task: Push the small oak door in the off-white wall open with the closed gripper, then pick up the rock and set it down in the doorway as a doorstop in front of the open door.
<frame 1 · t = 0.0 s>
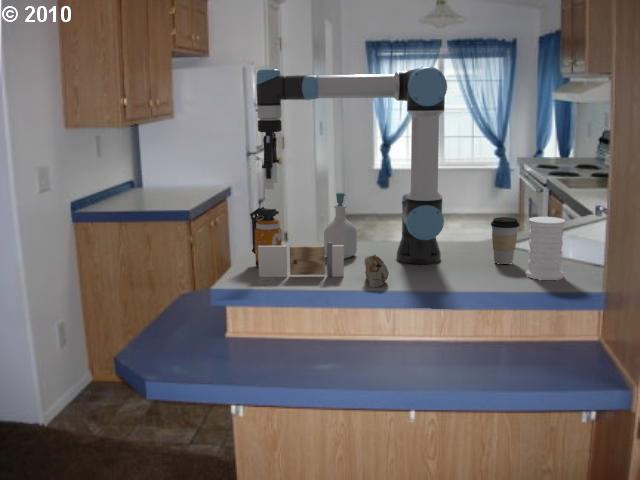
hand: (271, 185, 237), 28 cm above the countertop, fingers open, 13 cm apart
decorative container: (543, 276, 231), on the countertop
soap bottle: (340, 256, 261), on the countertop
coffee cup: (503, 263, 248), on the countertop
rock: (376, 282, 227), on the countertop
wall: (296, 276, 235), on the countertop
door: (307, 261, 233), point 5 cm above the countertop, hinge at 0.0°
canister: (266, 266, 249), on the countertop
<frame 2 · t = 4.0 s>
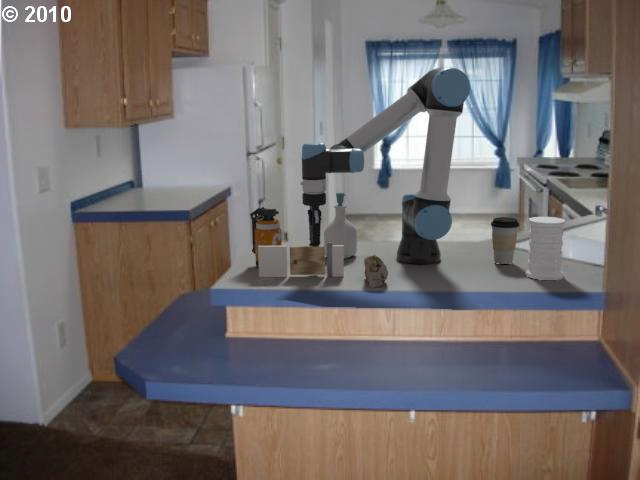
hand: (315, 264, 237), 3 cm above the countertop, fingers closed
door: (307, 261, 233), point 5 cm above the countertop, hinge at 0.1°, touching gripper
everything else where it was.
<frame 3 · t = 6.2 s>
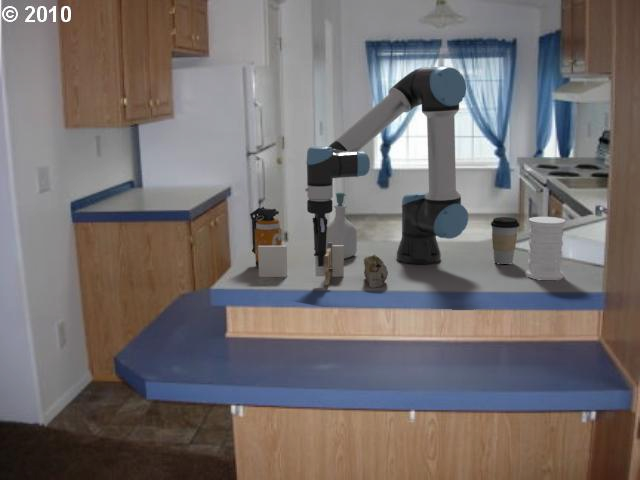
hand: (320, 275, 223), 3 cm above the countertop, fingers closed
door: (330, 266, 226), point 5 cm above the countertop, hinge at 86.2°, touching gripper
everything else where it was.
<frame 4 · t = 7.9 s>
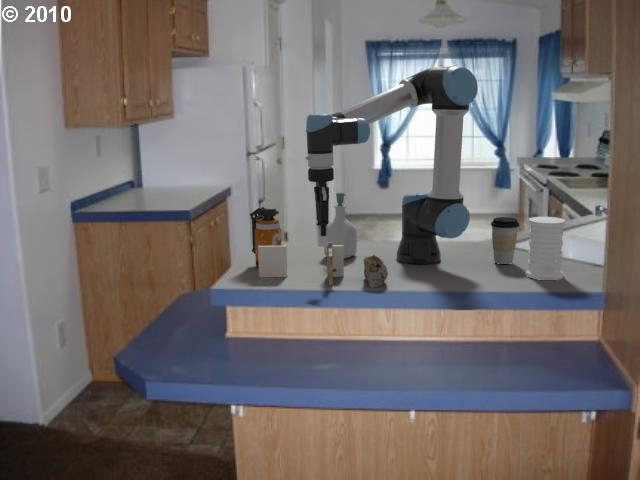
hand: (323, 245, 220), 13 cm above the countertop, fingers closed
door: (332, 266, 226), point 5 cm above the countertop, hinge at 91.9°
everything else where it was.
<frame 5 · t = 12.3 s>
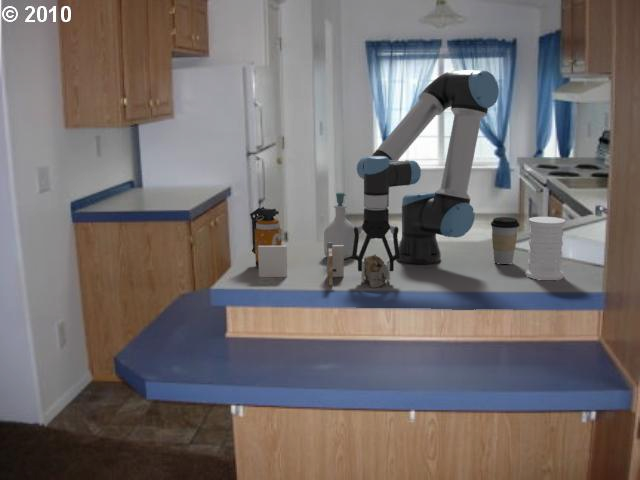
hand: (375, 281, 227), 0 cm above the countertop, fingers closed on rock, 7 cm apart
rock: (375, 282, 227), on the countertop, touching gripper
everything else where it was.
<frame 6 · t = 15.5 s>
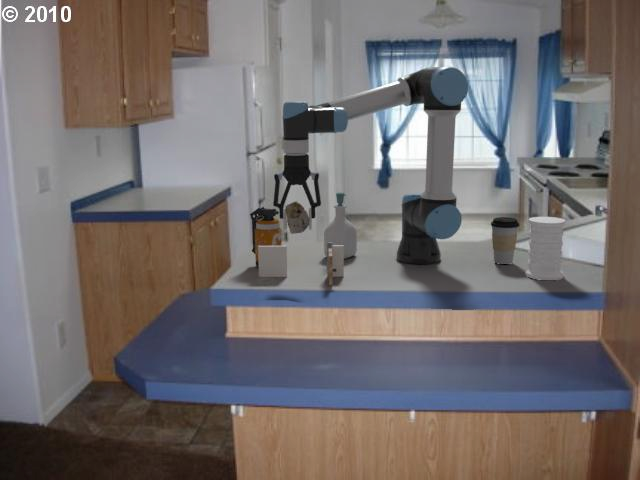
hand: (297, 228, 225), 17 cm above the countertop, fingers closed on rock, 7 cm apart
rock: (297, 230, 225), point 16 cm above the countertop, touching gripper
everything else where it was.
when the fingers open (2 cm above the countertop, at t = 18.5 s): rock drops 2 cm, on the countertop.
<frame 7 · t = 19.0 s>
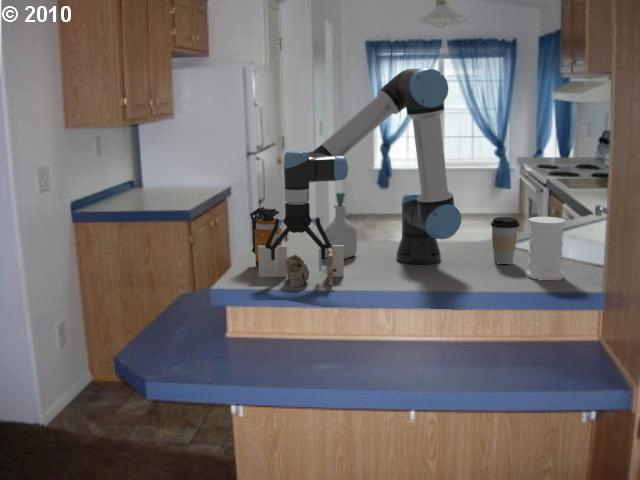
hand: (298, 270, 228), 4 cm above the countertop, fingers open, 13 cm apart
rock: (297, 282, 229), on the countertop
everything else where it was.
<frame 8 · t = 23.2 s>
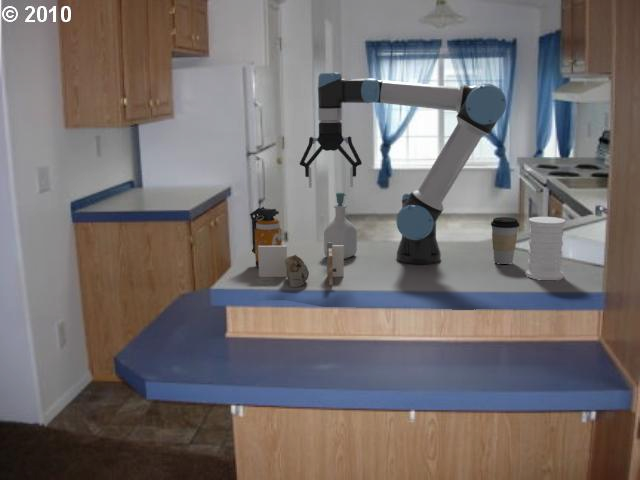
hand: (330, 186, 242), 27 cm above the countertop, fingers open, 13 cm apart
nothing on the countertop moved.
at the end: door at +92° (first picture: +0°); rock inside the target area (0.1 cm from its centre), on the countertop; the gripper is holding nothing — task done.
